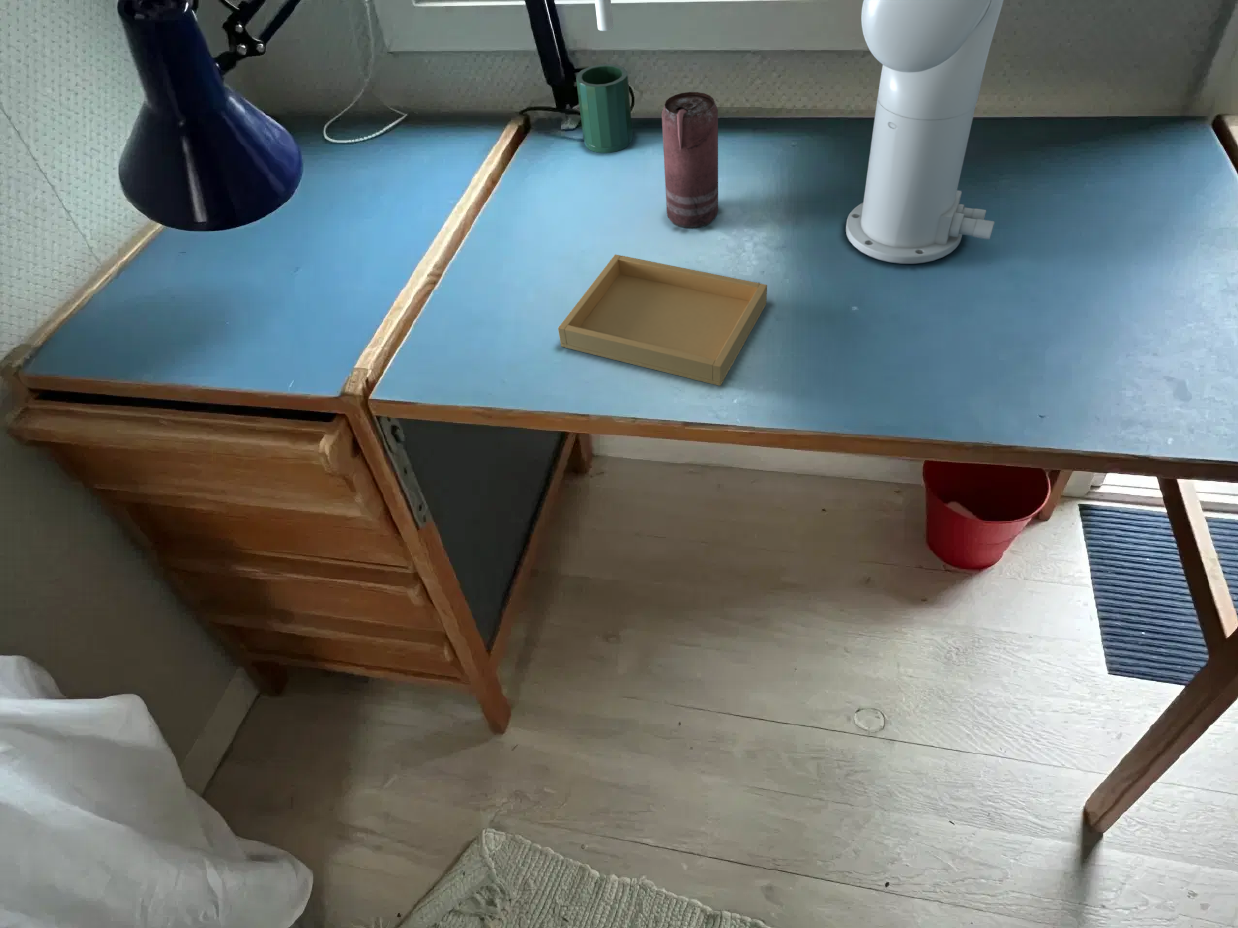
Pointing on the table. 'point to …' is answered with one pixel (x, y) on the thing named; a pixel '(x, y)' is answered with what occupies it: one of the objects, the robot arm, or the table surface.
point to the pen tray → (665, 318)
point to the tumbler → (605, 107)
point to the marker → (604, 15)
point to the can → (691, 159)
